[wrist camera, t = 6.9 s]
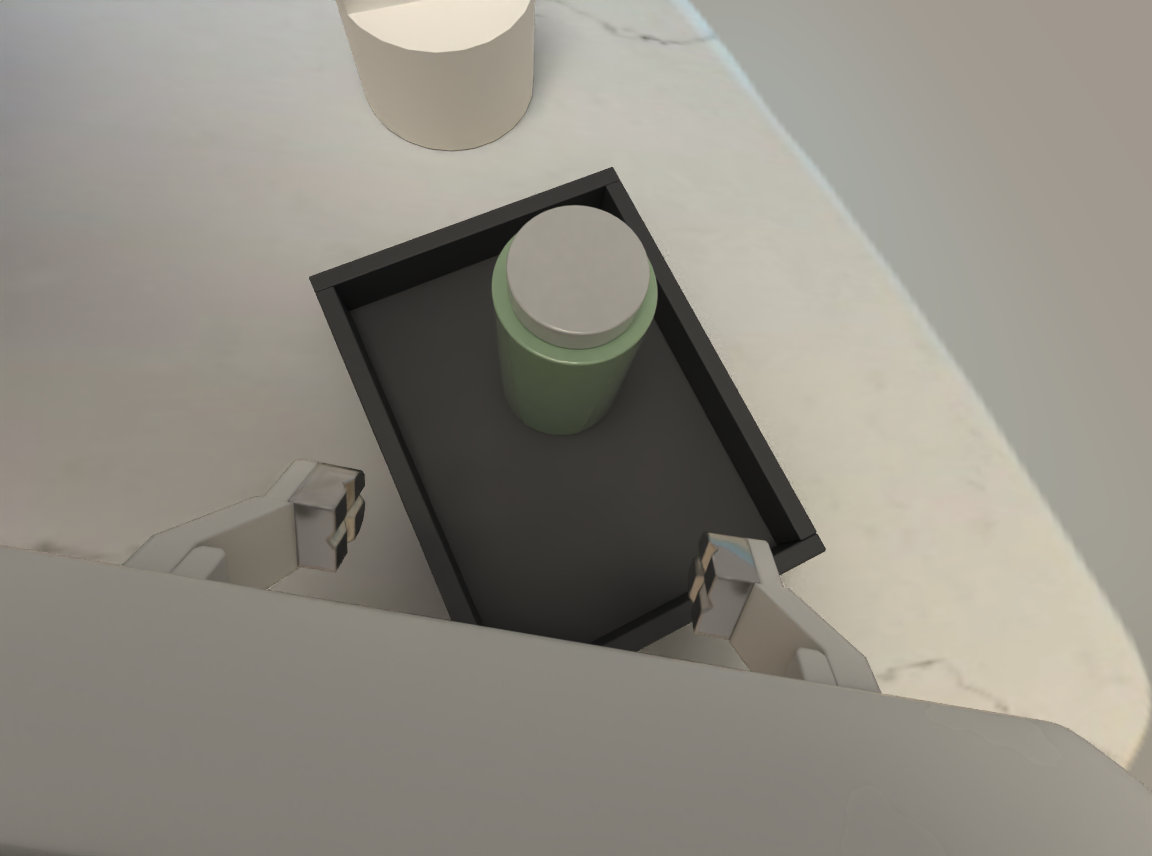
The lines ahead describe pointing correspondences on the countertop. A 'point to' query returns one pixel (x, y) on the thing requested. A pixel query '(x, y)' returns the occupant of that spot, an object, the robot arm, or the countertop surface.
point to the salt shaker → (570, 316)
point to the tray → (553, 443)
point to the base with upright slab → (444, 66)
